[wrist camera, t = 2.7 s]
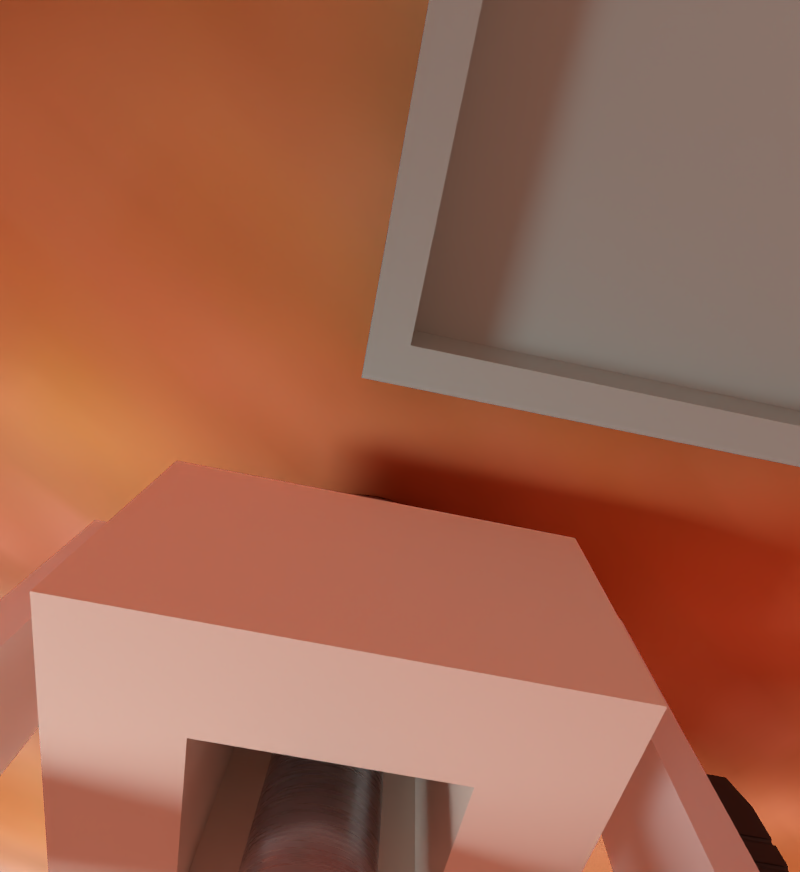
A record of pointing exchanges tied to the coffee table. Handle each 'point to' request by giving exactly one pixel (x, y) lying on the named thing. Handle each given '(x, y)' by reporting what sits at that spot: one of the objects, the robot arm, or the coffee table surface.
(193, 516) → the ring
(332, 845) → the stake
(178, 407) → the coffee table surface
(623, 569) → the coffee table surface
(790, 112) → the tray
